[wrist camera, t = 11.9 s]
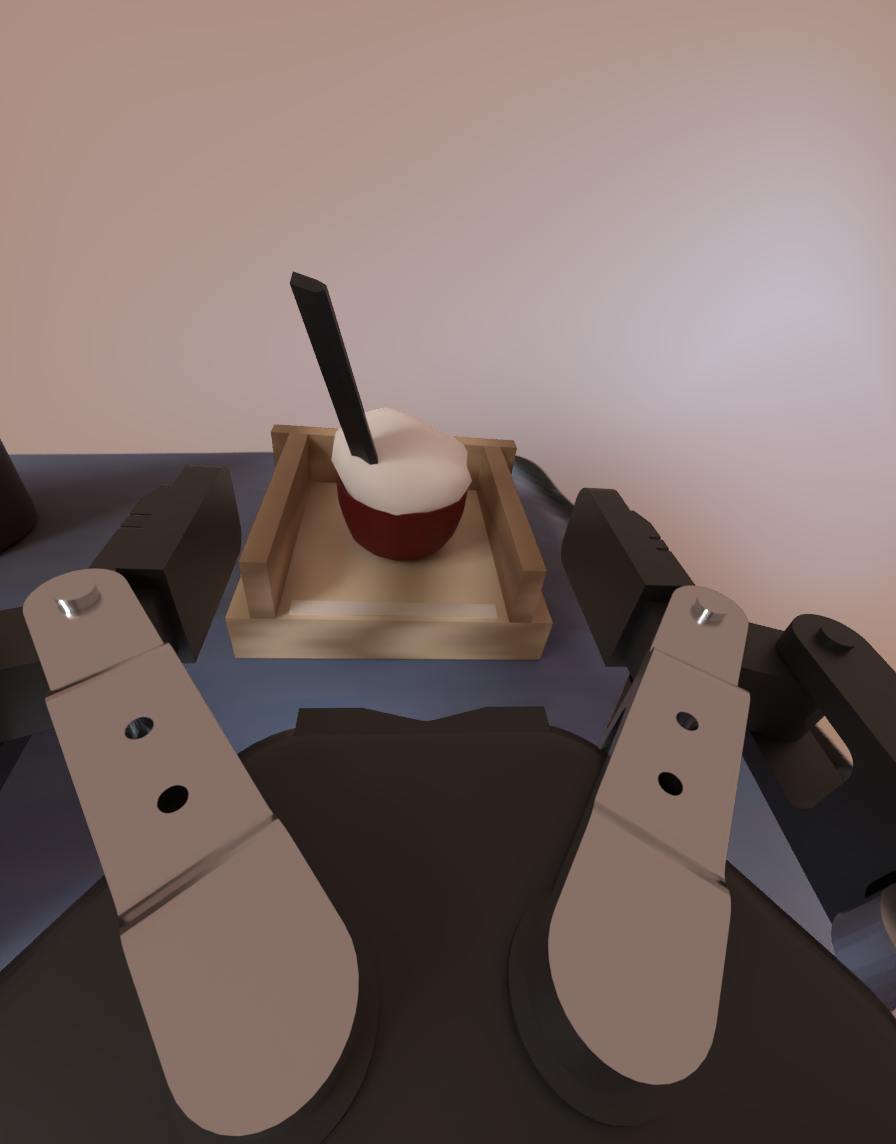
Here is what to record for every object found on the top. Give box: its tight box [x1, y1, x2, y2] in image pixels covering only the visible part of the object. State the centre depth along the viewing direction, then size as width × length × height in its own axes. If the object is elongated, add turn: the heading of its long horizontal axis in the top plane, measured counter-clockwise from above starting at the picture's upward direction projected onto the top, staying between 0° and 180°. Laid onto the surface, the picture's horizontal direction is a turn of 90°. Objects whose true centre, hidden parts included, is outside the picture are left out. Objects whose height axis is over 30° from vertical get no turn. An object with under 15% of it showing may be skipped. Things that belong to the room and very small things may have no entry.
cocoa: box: [290, 272, 472, 561], centre depth 22 cm, size 10×6×12 cm, turn 117°
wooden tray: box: [225, 425, 553, 660], centre depth 25 cm, size 14×12×6 cm
